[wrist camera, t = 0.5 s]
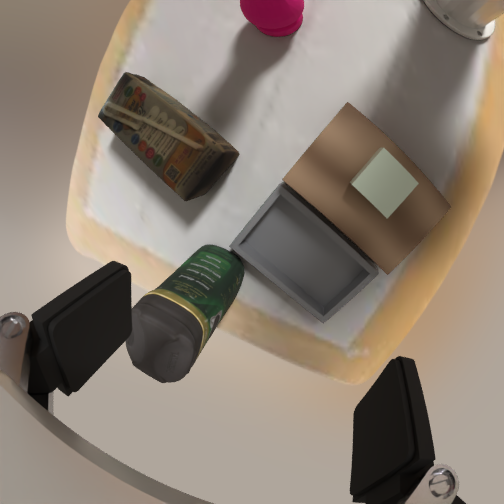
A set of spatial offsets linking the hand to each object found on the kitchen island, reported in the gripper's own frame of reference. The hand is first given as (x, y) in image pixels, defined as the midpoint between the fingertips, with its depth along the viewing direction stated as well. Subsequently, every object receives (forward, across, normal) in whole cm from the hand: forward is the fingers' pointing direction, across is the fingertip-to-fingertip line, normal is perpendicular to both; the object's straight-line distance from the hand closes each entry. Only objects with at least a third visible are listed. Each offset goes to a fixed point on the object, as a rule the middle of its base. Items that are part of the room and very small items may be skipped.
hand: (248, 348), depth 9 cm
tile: (+23, -7, -5) cm, 24 cm away
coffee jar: (+28, +9, +14) cm, 33 cm away
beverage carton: (+28, +20, -4) cm, 35 cm away
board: (+28, -7, -4) cm, 29 cm away
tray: (+28, -2, +7) cm, 29 cm away
